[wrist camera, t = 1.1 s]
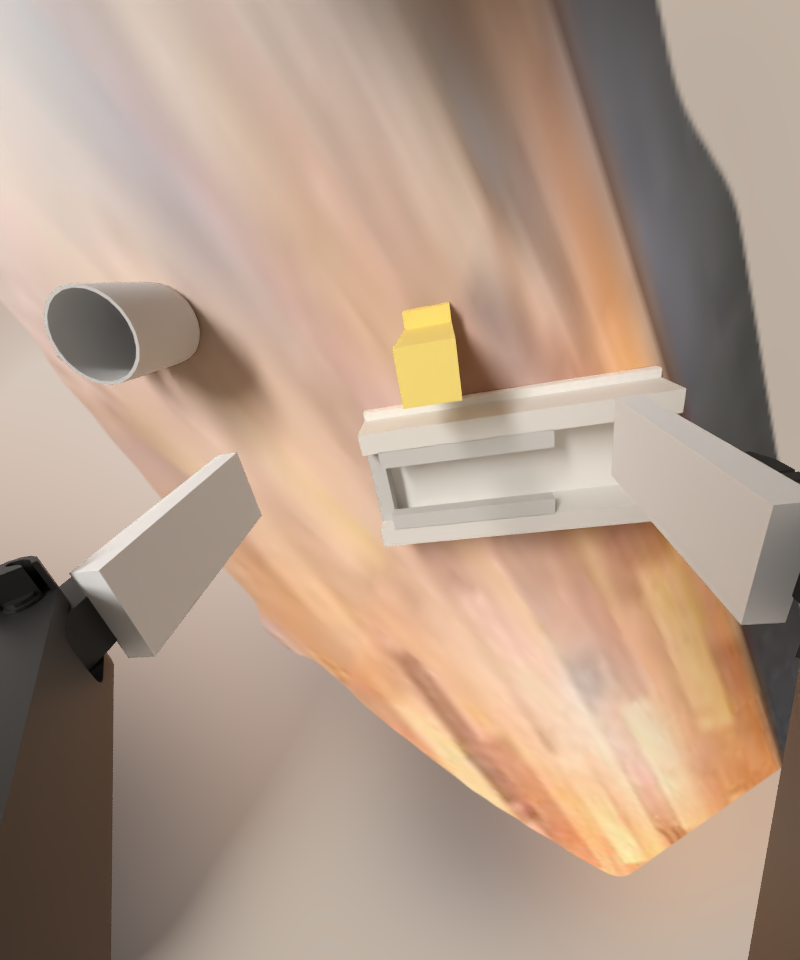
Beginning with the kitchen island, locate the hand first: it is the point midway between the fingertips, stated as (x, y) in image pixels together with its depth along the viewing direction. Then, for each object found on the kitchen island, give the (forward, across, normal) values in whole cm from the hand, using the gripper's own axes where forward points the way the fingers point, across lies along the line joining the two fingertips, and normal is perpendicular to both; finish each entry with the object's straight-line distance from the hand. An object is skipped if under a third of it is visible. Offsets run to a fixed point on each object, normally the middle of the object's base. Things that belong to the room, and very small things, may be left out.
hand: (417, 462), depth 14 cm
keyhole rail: (+25, +6, -12) cm, 29 cm away
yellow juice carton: (+25, 0, 0) cm, 25 cm away
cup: (+26, -26, +6) cm, 37 cm away
